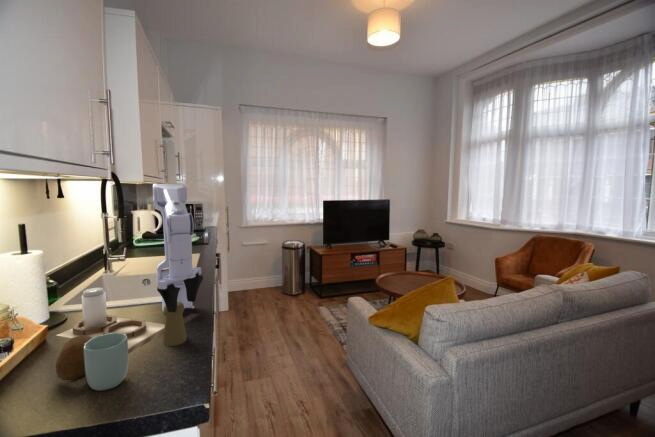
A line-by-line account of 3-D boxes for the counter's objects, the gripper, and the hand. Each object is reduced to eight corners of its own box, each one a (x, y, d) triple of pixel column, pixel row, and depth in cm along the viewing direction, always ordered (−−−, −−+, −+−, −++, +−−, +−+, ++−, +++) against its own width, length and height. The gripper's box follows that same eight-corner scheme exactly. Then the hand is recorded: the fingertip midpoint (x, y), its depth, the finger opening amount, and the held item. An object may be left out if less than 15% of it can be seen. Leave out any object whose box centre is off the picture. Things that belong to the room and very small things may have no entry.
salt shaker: (97, 321, 94) (95, 286, 93) (112, 324, 93) (109, 288, 92) (78, 329, 89) (76, 292, 88) (93, 332, 87) (91, 294, 86)
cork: (177, 347, 83) (175, 308, 82) (157, 344, 84) (156, 306, 83) (191, 336, 89) (190, 300, 88) (173, 334, 90) (171, 298, 89)
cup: (80, 400, 62) (77, 353, 61) (92, 378, 69) (89, 336, 68) (126, 390, 65) (123, 346, 64) (132, 370, 72) (130, 330, 71)
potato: (112, 355, 79) (110, 322, 78) (95, 383, 68) (92, 345, 67) (71, 361, 76) (69, 327, 75) (47, 391, 65) (44, 352, 64)
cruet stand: (103, 319, 99) (103, 310, 99) (168, 329, 93) (168, 320, 93) (56, 340, 86) (55, 330, 85) (128, 353, 79) (128, 342, 79)
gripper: (173, 265, 75) (175, 318, 77) (209, 253, 89) (210, 298, 91) (149, 263, 77) (152, 315, 79) (189, 252, 91) (190, 296, 93)
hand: (182, 306), depth 85 cm, fingers open, 7 cm apart
